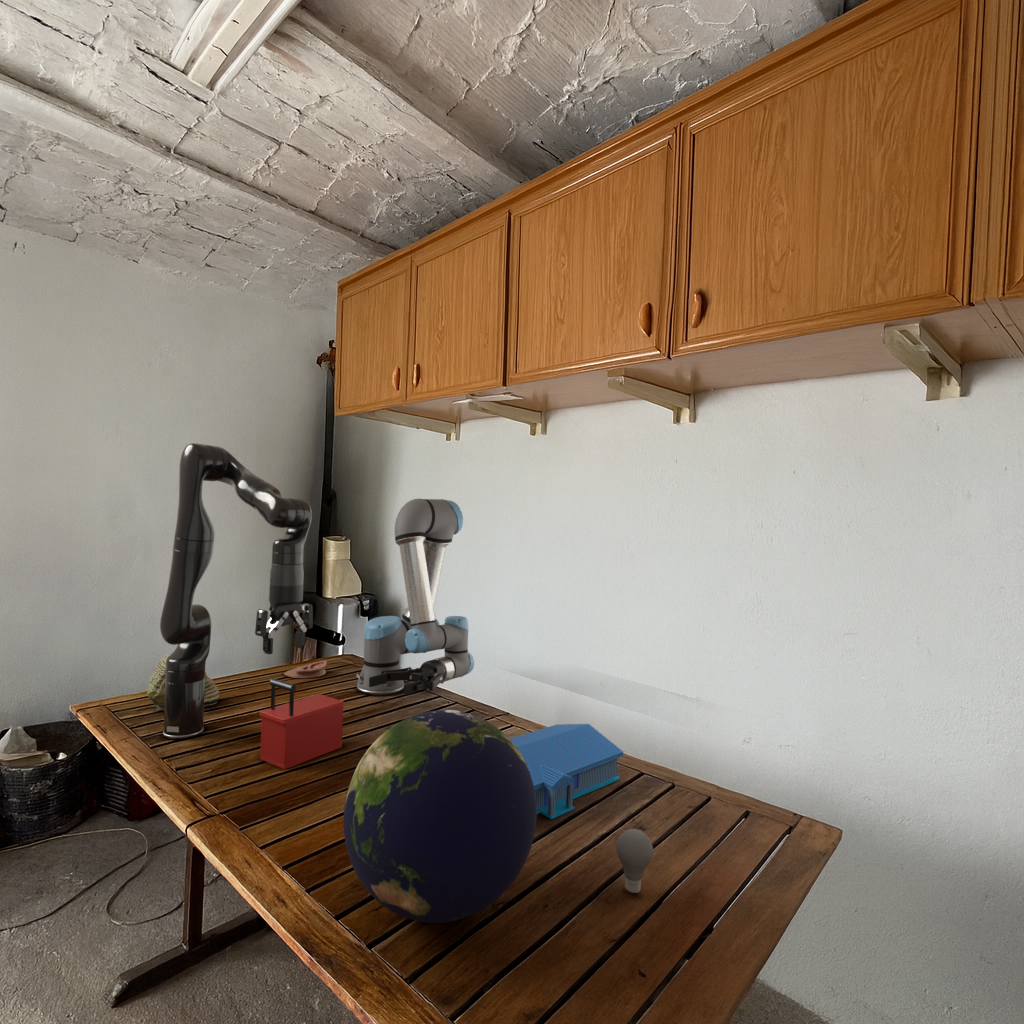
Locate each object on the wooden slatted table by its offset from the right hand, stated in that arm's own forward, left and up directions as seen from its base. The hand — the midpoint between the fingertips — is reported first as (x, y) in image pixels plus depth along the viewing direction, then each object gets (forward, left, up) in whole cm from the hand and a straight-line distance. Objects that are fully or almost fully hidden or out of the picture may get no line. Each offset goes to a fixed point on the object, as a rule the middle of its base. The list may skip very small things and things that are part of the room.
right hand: (387, 686), depth 178 cm
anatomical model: (-38, -43, -11) cm, 59 cm away
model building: (+30, +46, -11) cm, 56 cm away
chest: (+25, -13, -11) cm, 30 cm away
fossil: (+2, -61, -11) cm, 62 cm away
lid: (+25, -13, 0) cm, 28 cm away
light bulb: (+64, +66, -11) cm, 92 cm away
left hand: (+30, -15, +16) cm, 38 cm away
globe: (+74, +35, -11) cm, 83 cm away
